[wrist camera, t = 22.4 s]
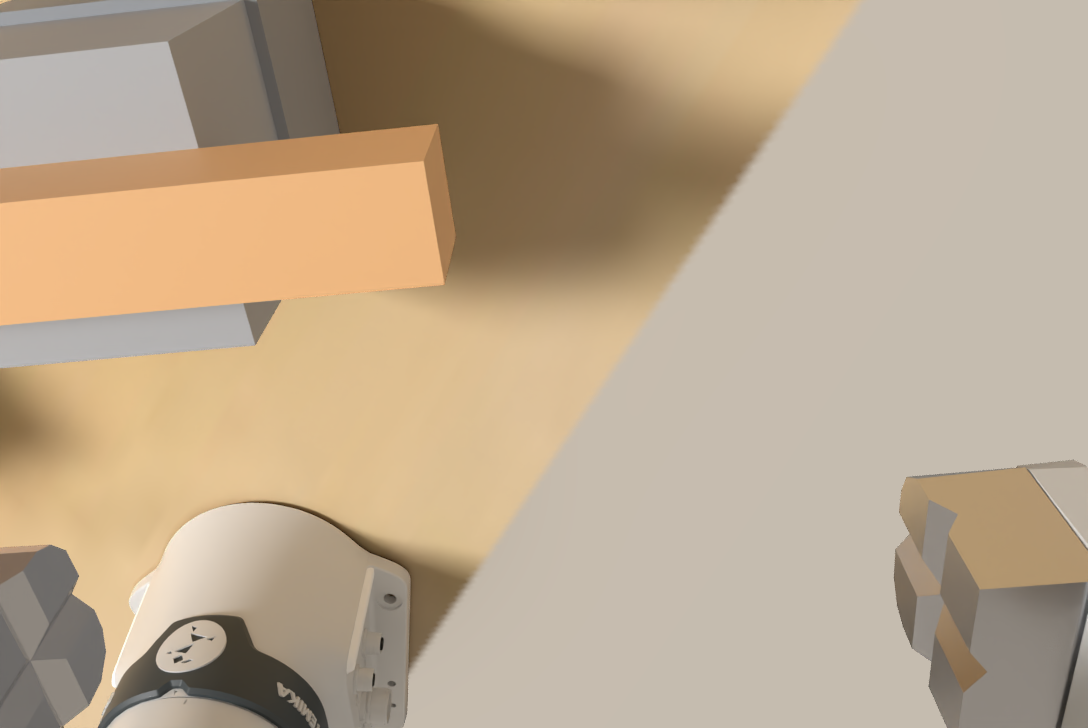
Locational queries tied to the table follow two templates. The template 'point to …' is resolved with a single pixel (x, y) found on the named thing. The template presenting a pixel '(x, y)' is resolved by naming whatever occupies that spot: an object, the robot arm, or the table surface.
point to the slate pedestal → (152, 125)
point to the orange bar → (225, 225)
